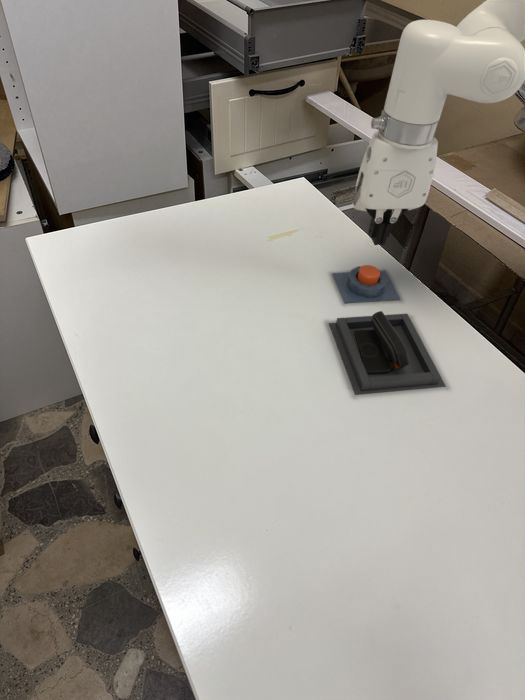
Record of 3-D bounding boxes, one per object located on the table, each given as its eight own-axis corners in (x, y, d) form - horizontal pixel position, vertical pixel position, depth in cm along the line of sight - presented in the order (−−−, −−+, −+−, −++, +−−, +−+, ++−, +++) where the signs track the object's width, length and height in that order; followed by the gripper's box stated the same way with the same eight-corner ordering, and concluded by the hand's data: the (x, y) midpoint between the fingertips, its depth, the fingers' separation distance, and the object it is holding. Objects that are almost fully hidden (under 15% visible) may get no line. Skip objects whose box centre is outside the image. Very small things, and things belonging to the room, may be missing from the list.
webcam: (406, 374, 78) (417, 347, 73) (366, 374, 77) (374, 347, 73) (391, 331, 84) (400, 304, 80) (353, 331, 83) (360, 304, 79)
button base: (383, 275, 96) (387, 262, 94) (398, 304, 91) (403, 290, 88) (331, 278, 94) (334, 264, 92) (343, 307, 89) (346, 294, 87)
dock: (408, 321, 88) (412, 310, 86) (444, 390, 77) (449, 379, 76) (327, 327, 85) (329, 316, 83) (353, 399, 75) (357, 388, 73)
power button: (374, 272, 92) (376, 264, 91) (380, 285, 90) (383, 277, 88) (354, 273, 92) (356, 265, 90) (360, 286, 89) (362, 278, 88)
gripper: (364, 139, 68) (338, 255, 81) (469, 139, 70) (428, 252, 84) (348, 115, 73) (326, 228, 86) (447, 116, 76) (411, 226, 89)
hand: (376, 239), depth 85 cm, fingers closed
